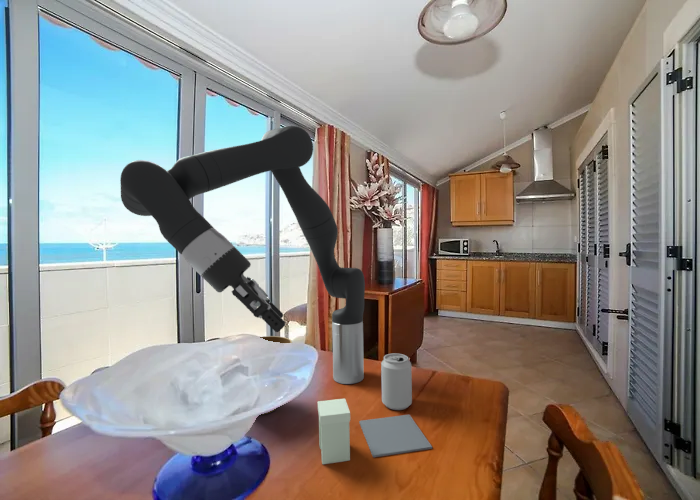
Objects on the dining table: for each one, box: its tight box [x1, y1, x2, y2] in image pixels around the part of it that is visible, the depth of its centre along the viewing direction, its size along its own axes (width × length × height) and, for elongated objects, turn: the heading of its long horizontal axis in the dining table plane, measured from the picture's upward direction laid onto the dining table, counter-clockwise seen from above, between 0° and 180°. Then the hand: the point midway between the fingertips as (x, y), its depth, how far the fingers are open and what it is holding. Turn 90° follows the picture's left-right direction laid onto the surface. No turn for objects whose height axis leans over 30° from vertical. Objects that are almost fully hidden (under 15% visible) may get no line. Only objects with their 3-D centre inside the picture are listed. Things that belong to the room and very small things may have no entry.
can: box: [380, 352, 413, 411], centre depth 80 cm, size 8×8×12 cm
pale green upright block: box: [317, 398, 351, 465], centre depth 62 cm, size 6×6×9 cm
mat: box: [359, 414, 433, 458], centre depth 67 cm, size 12×12×1 cm
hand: (280, 323), depth 59 cm, fingers open, 8 cm apart
